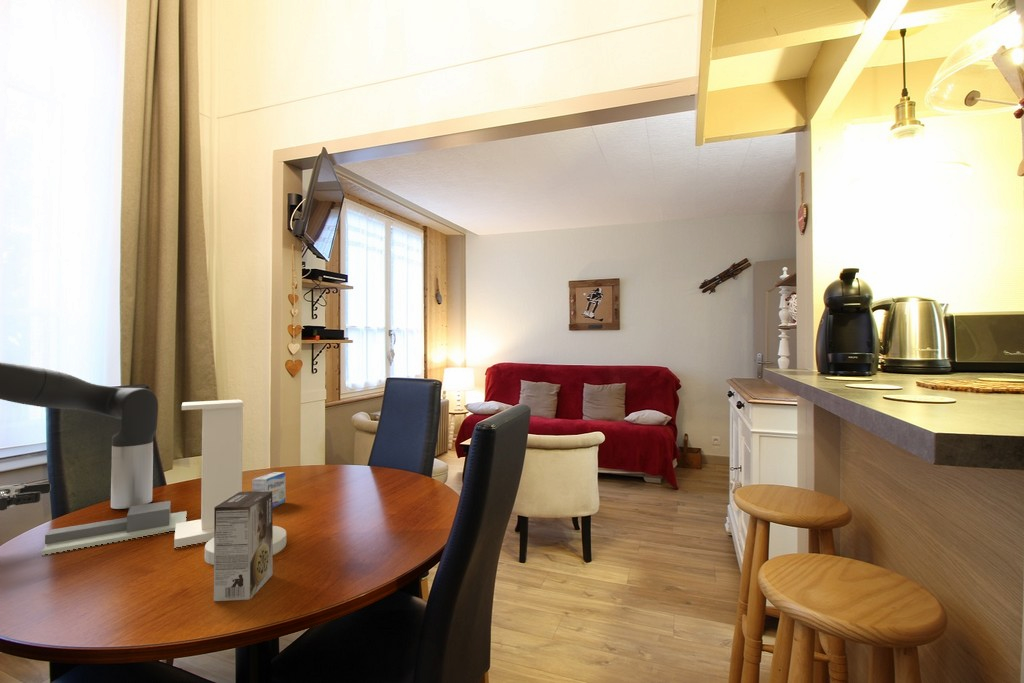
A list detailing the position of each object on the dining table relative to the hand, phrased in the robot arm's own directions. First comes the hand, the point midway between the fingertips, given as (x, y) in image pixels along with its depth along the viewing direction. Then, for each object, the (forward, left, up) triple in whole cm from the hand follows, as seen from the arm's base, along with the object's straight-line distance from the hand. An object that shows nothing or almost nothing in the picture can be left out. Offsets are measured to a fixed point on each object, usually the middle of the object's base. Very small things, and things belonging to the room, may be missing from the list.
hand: (45, 491), depth 103 cm
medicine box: (-1, +45, -12) cm, 47 cm away
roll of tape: (+29, +37, -13) cm, 48 cm away
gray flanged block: (0, +11, -11) cm, 16 cm away
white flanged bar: (+13, +31, -12) cm, 35 cm away
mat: (0, +13, -12) cm, 18 cm away
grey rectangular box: (+48, +35, -12) cm, 60 cm away
